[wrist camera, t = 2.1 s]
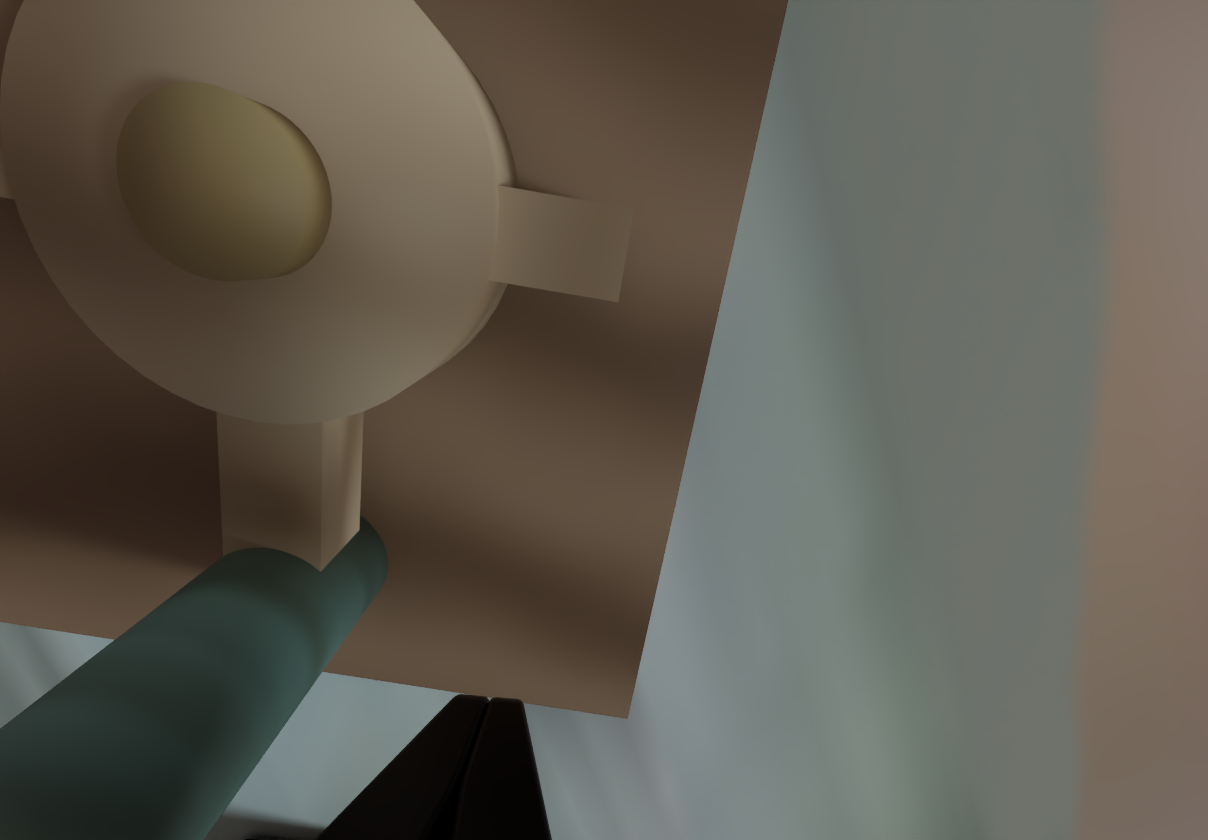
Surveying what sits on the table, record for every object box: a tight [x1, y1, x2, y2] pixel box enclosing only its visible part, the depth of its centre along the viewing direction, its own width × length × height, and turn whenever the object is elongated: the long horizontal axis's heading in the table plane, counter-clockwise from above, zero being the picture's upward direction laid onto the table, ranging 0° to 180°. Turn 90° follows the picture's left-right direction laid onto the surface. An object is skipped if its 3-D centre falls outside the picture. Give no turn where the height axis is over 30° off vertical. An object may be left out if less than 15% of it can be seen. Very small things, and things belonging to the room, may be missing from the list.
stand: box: [0, 0, 788, 719], centre depth 9 cm, size 20×16×6 cm
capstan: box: [0, 0, 634, 840], centre depth 8 cm, size 14×11×6 cm
